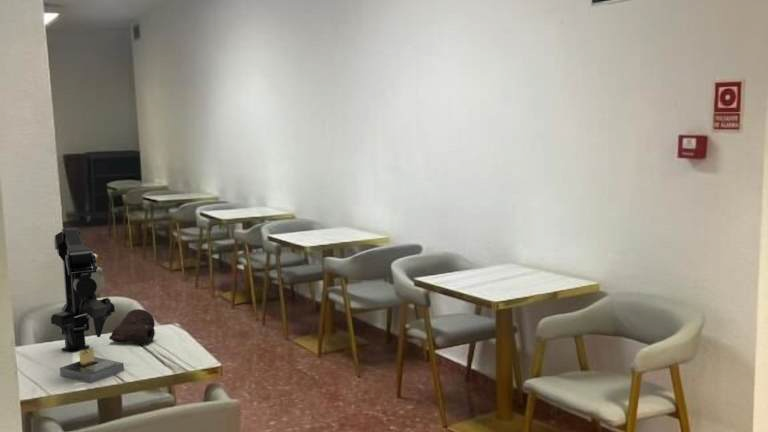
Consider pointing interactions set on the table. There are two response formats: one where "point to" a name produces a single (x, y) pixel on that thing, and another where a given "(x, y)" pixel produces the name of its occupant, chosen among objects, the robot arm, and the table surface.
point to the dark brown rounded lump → (135, 328)
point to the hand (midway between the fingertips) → (85, 340)
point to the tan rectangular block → (86, 357)
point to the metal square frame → (92, 370)
